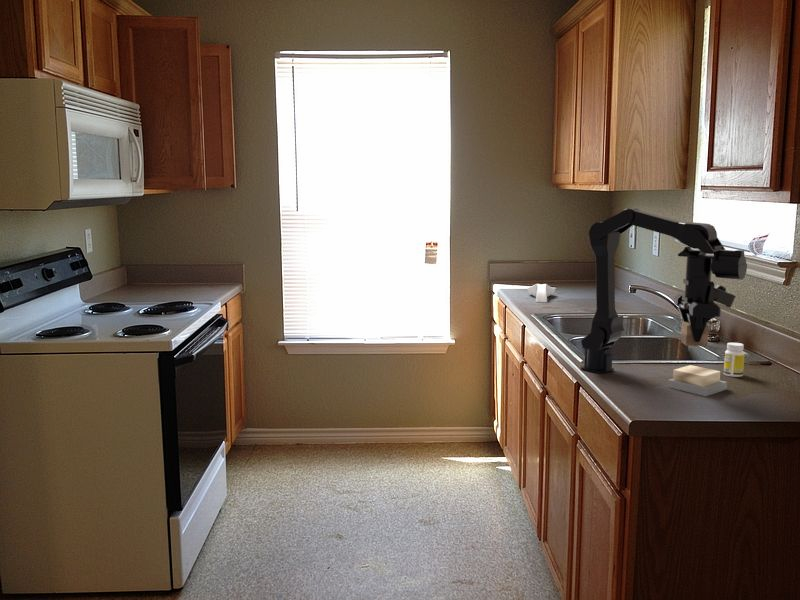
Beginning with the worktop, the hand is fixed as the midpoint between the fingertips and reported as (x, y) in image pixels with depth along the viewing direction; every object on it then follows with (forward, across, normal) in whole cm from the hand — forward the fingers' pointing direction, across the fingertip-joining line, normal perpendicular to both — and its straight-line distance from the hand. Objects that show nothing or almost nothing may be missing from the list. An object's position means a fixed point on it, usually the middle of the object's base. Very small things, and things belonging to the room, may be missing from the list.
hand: (694, 339), depth 187 cm
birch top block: (+10, +1, -1) cm, 11 cm away
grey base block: (+13, +1, -2) cm, 13 cm away
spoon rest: (+11, +138, +27) cm, 141 cm away
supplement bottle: (+13, +16, -15) cm, 25 cm away
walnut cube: (+1, 0, 0) cm, 1 cm away
